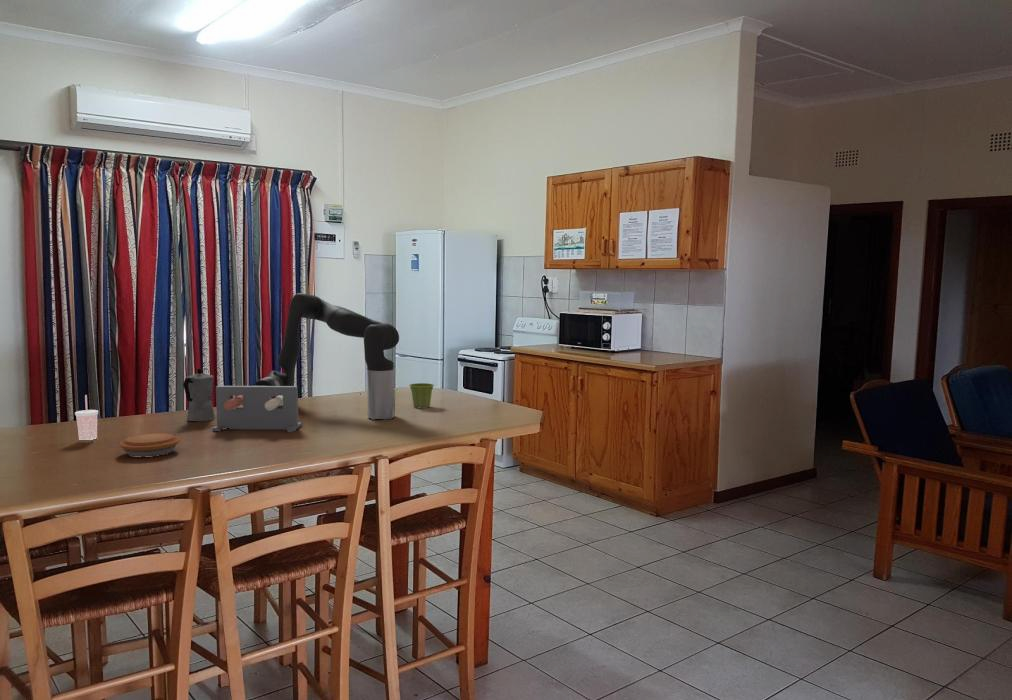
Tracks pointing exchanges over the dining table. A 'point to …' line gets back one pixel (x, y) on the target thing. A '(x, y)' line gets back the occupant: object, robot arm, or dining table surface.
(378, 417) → the robot arm
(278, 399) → the beige lever
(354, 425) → the dining table surface
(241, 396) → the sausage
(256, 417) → the panel
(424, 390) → the plant pot
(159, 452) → the pie
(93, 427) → the beverage cup
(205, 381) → the coffeepot
